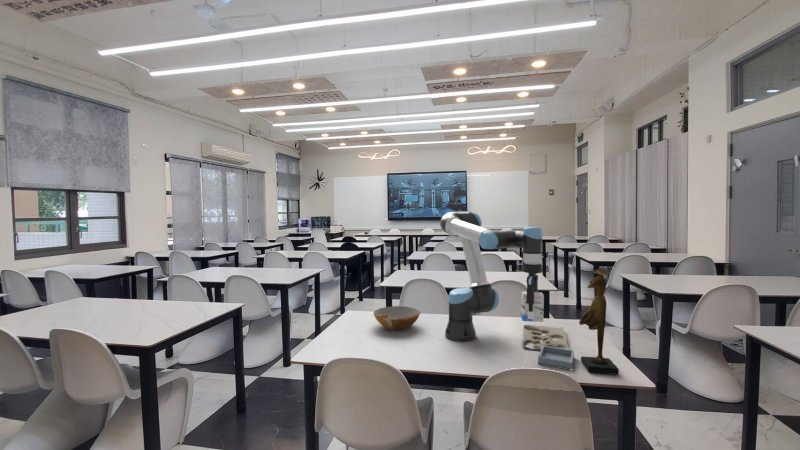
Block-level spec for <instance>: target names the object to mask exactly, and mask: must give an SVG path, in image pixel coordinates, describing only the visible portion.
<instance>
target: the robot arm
mask: <svg viewBox="0 0 800 450" xmlns="http://www.w3.org/2000/svg"><path fill="white" fill-rule="evenodd" d="M439 226H440V228H441V231H442V232H444V233H445V234H449V235H451V236H455V235H456V236H457V239H459V240H460V241H461V244H462V249H463V255H464V258H465V263H466V268H467V273H468V278H469V282H470V285H469V286H468V287H457V288H453V289H452V290H450V292H449V294H448V301H447V302H448V321H447V325H446V328H445V335H444V336H445V337H446V339H449V340H451V341H455V342H471V341H474V340H475V339H477V332H476V328H475V325H474V321H473V314H474V315H475V314H482V313H489V312H492V311H495V310H496V309H497V308H498V306H499V304H500V303H499V302H500V296H499V293H498V291H497V290H496V289H495V288H494V287H492V283H490V282H489V281H488V278H487V273H486V270H485V265H484V261H483V257H482V253H481V249H483V250H495V249H496V250H497V249H511V248H520V249H523V253H522V256H523V257H522V262H523V264H522V265H523V266H522V267H523V268H522V271H523V272H524V273H525V274H528V276H526V292H527V302H526V303H528V319H535V304H534V292H539V291H538V290H539V286H538V285H539V284H538V282H539V281H538V280H539V275H538V274H541V273H542V272H543V265H542V261H543V258H544V255H543V231H542V228H541V227H539V226H524V227H523V229H522V230H513V229H512V230H511V229H510V230H503V231H494V230H492V229H488V228H485V227H483V226H482V220H481V217H480V216H479V214H478V213H477V212H474V211H468V210H467V211H449V212H446V213H445V214H444V215H442V217H441V219H440V221H439ZM480 247H481V249H480Z"/></svg>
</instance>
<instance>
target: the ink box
mask: <svg viewBox="0 0 800 450" xmlns="http://www.w3.org/2000/svg"><path fill="white" fill-rule="evenodd" d="M544 300H545V294H543V292H540V291H538V292H534V304H535V319H528V303H526V302H527V290H526V291H525V290H523V291H521V300H520V301H521V302H520V303H521V308H520V310H521V311H520V313H521V314H520V315H521V316H520V319H521V320H522V322H534V323H535V322H537V323H544V313H545V312H544V310H545V309H544V306H545V305H544V304H545V303H544V302H545V301H544Z"/></svg>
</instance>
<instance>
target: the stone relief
mask: <svg viewBox="0 0 800 450" xmlns="http://www.w3.org/2000/svg"><path fill="white" fill-rule="evenodd" d="M522 331H523V338H522V341H521V343H522V348H525V349H528V350H533V351H538V350H541V348H542V345H543V346H549V347H555V348H562V349H568V350H570V348H569V345H568V337H567V335H566V333H565V329H564V327H563V326H561V327H552V326H546V325H542V326H541V325H533V324H524V325H523V328H522ZM543 334H544V335H543ZM529 344H531V345H533V346H532V348H531V347H528V345H529Z"/></svg>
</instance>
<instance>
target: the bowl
mask: <svg viewBox="0 0 800 450" xmlns="http://www.w3.org/2000/svg"><path fill="white" fill-rule="evenodd" d="M420 315H421V311H420V310H419V309H417V308H414V307H411V306H400V305H398V306H397V305H396V306H395V305H394V306H385V307H380V308H378V309H376V310H374V311H373V316H374V317H375V320H376V321H377V322H378V323H379V325H381V326H382V327H384V328H386V329H388V330H390V331H405V330H406V329H407V328H410V327H412V325H414V324H415V323H416V322H417V320H418V319H419V318H420Z"/></svg>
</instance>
